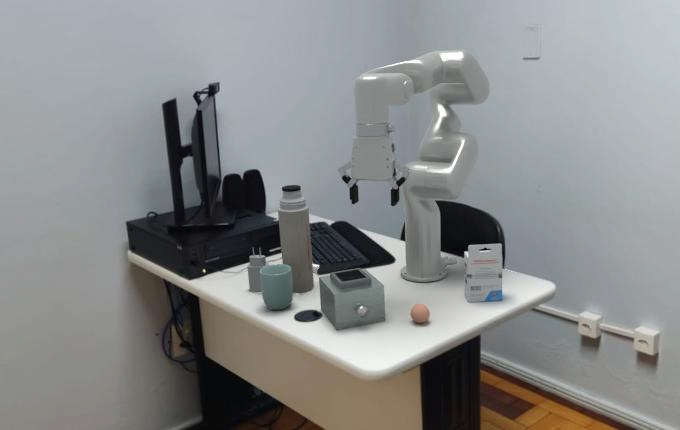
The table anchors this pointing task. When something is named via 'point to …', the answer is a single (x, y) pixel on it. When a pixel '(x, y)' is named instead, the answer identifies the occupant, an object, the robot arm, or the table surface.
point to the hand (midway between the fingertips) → (374, 203)
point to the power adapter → (255, 271)
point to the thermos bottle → (296, 237)
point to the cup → (276, 286)
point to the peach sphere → (420, 313)
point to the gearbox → (352, 298)
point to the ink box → (483, 273)
